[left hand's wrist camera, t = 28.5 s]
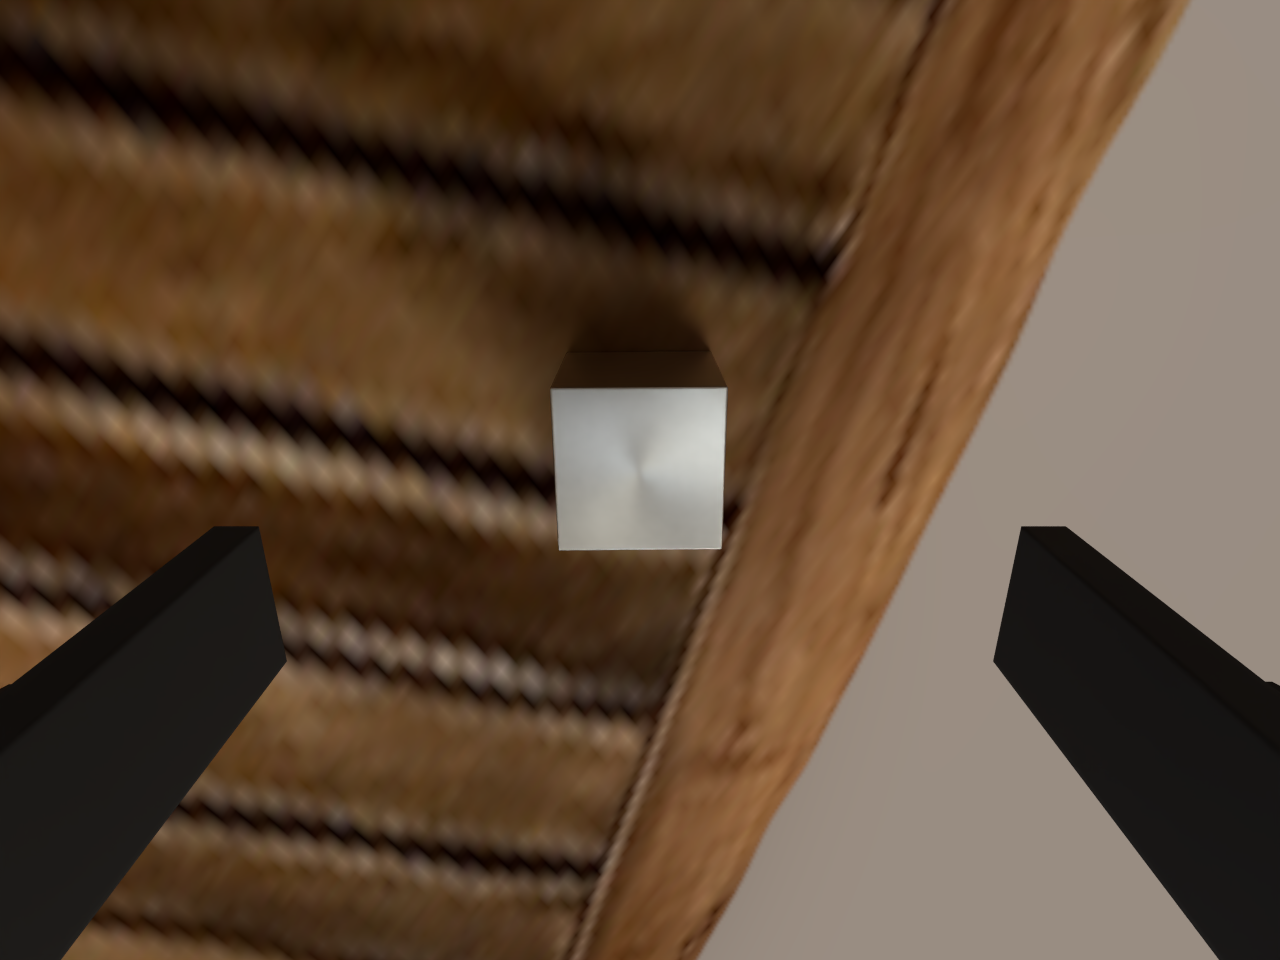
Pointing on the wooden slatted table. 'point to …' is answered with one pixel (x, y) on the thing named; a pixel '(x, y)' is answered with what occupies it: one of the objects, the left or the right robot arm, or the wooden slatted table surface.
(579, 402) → the block
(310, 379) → the wooden slatted table surface
